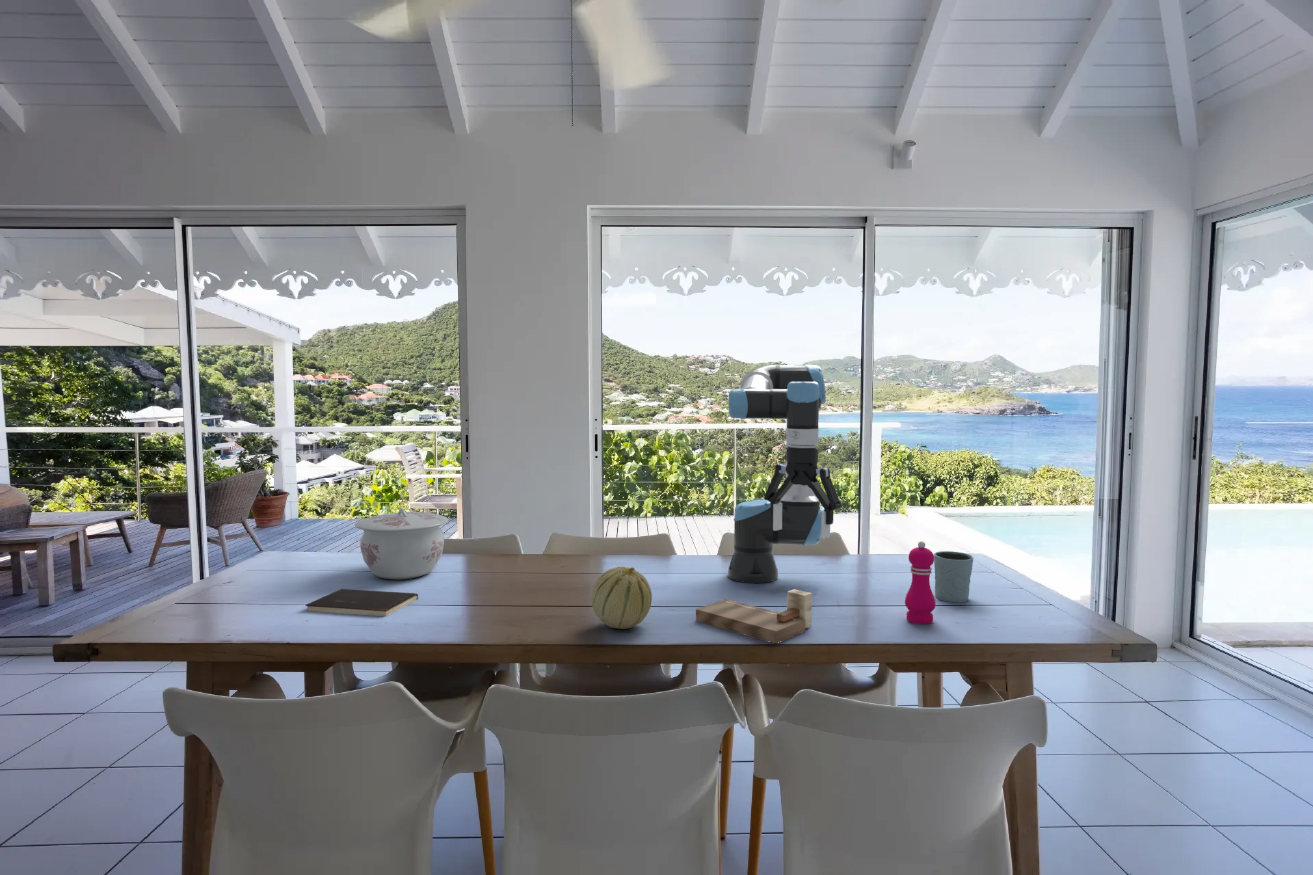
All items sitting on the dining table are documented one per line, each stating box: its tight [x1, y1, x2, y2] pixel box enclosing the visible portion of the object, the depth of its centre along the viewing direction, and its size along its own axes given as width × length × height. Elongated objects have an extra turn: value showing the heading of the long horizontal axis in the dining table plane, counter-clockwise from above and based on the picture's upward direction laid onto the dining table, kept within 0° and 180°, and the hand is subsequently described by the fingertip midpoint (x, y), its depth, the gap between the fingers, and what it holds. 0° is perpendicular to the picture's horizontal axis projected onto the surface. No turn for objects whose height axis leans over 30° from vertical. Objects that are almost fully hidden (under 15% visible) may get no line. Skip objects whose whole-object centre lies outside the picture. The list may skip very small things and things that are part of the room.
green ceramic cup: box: [933, 550, 974, 603], centre depth 205 cm, size 10×10×12 cm
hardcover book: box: [305, 588, 419, 617], centre depth 199 cm, size 16×23×2 cm
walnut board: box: [695, 598, 806, 644], centre depth 182 cm, size 24×12×3 cm, turn 46°
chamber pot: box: [354, 508, 450, 581], centre depth 230 cm, size 28×28×21 cm
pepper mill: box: [904, 540, 936, 625], centre depth 186 cm, size 7×7×20 cm
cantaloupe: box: [591, 566, 653, 630], centre depth 181 cm, size 15×15×15 cm
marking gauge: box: [777, 588, 813, 629], centre depth 179 cm, size 5×11×8 cm, turn 136°
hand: (800, 533), depth 180 cm, fingers open, 13 cm apart
